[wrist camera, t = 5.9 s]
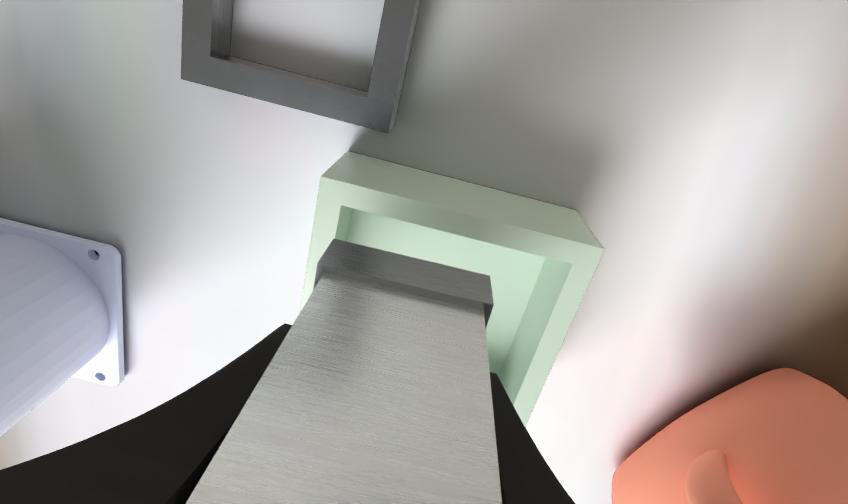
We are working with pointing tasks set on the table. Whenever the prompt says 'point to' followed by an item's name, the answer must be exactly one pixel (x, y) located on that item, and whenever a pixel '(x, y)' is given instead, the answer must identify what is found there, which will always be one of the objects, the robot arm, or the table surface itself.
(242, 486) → the strut
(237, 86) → the socket
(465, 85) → the table surface
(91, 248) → the robot arm
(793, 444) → the teapot
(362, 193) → the bin
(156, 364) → the table surface
